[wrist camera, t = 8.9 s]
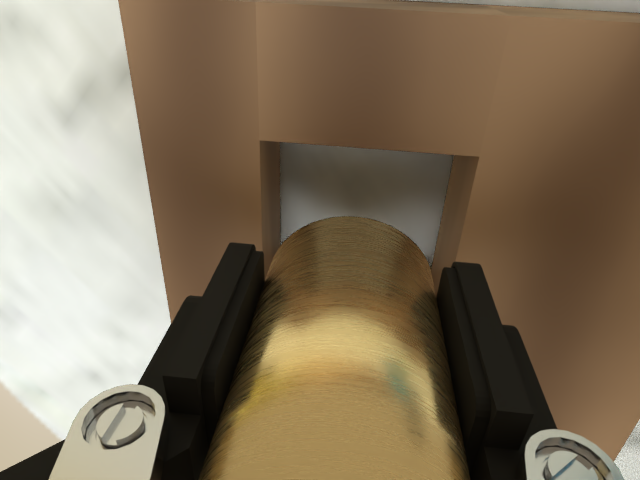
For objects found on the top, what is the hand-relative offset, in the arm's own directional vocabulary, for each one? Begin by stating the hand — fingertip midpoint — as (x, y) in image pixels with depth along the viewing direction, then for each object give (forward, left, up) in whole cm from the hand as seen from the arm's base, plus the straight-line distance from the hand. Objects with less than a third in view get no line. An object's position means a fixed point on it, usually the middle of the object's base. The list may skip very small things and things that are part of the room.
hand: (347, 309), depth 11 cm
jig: (-2, +3, -6) cm, 7 cm away
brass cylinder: (0, 0, -1) cm, 1 cm away
